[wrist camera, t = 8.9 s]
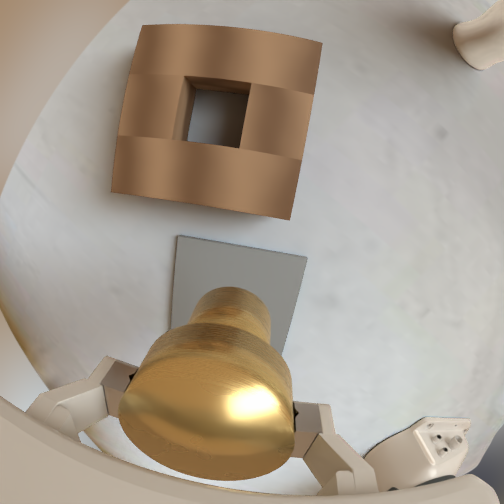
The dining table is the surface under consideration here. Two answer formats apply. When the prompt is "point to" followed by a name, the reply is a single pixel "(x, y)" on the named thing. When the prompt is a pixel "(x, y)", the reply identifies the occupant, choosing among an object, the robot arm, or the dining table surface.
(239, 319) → the brass knob
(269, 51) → the walnut block
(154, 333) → the dining table surface
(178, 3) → the dining table surface
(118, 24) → the dining table surface
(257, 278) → the rubber mat
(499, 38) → the beer glass
